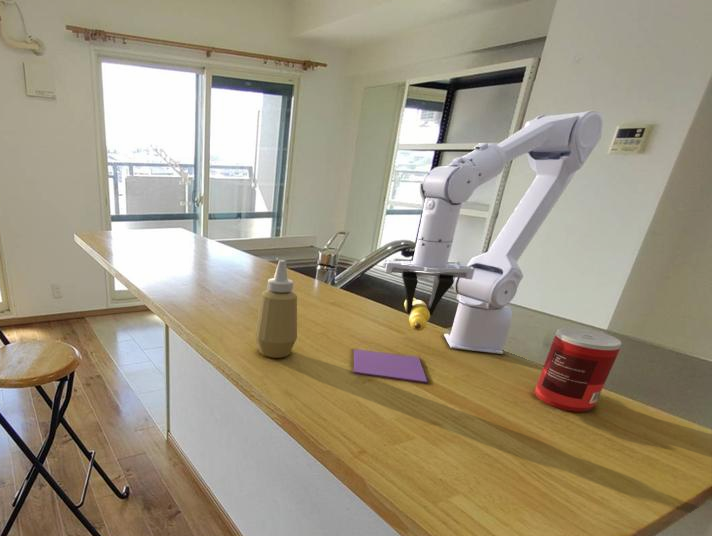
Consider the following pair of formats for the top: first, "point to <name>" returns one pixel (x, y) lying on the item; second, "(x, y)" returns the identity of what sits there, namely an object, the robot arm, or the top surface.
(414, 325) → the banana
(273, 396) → the top surface
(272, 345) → the squeeze bottle
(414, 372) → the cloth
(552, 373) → the canned food
